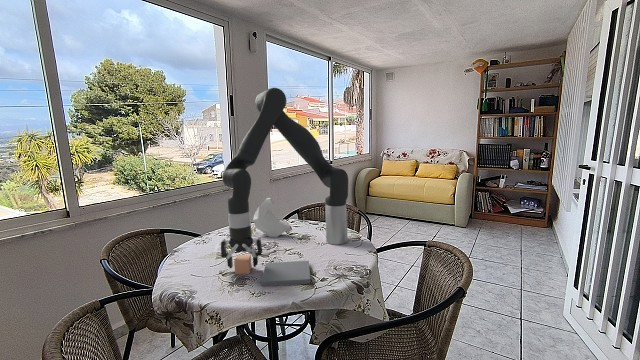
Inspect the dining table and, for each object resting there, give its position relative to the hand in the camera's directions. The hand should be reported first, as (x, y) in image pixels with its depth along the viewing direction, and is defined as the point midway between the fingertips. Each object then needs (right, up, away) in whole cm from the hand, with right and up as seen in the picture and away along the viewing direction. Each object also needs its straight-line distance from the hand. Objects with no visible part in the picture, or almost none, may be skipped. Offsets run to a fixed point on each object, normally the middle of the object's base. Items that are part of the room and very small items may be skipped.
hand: (243, 266), depth 109 cm
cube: (0, -2, 0) cm, 2 cm away
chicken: (+5, +5, +36) cm, 37 cm away
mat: (+16, -2, -4) cm, 17 cm away
